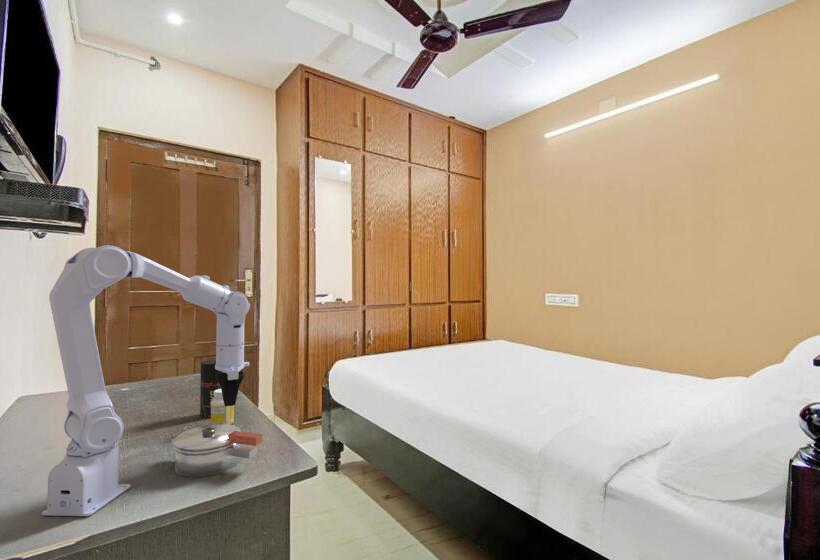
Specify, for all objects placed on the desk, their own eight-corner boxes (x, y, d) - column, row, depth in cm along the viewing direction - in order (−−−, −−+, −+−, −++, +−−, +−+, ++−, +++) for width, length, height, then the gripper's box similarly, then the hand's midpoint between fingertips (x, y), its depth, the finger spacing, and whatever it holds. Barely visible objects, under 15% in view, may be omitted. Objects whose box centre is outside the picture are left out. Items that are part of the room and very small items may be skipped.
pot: (149, 471, 80) (149, 446, 80) (199, 446, 92) (199, 424, 92) (230, 486, 74) (231, 459, 74) (272, 457, 86) (272, 434, 86)
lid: (159, 447, 79) (159, 438, 79) (205, 425, 91) (205, 417, 91) (238, 458, 74) (238, 448, 74) (276, 433, 86) (276, 425, 86)
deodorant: (206, 419, 110) (207, 365, 110) (196, 415, 113) (196, 362, 113) (227, 414, 114) (227, 361, 114) (216, 409, 118) (217, 359, 118)
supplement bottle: (227, 422, 107) (228, 386, 107) (237, 427, 104) (238, 390, 104) (206, 428, 103) (207, 390, 103) (216, 433, 100) (217, 394, 100)
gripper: (254, 348, 85) (253, 411, 85) (245, 339, 98) (244, 394, 98) (217, 350, 82) (216, 416, 82) (213, 340, 94) (212, 398, 94)
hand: (229, 405), depth 89 cm, fingers closed
